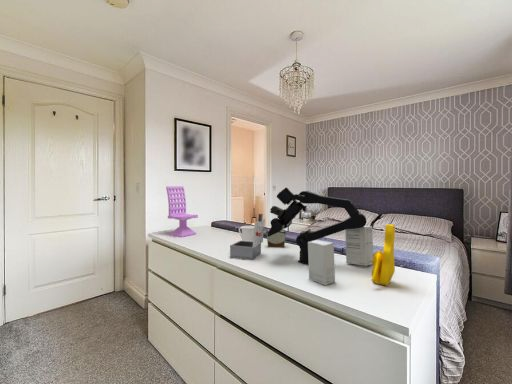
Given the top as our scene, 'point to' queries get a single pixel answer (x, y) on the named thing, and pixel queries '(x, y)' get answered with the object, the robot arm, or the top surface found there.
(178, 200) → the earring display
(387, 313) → the top surface
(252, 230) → the mug
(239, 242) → the grey open box
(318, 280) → the skincare box
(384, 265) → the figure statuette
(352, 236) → the supplement box
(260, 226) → the tabbed silver plate
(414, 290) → the top surface
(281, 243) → the food container
